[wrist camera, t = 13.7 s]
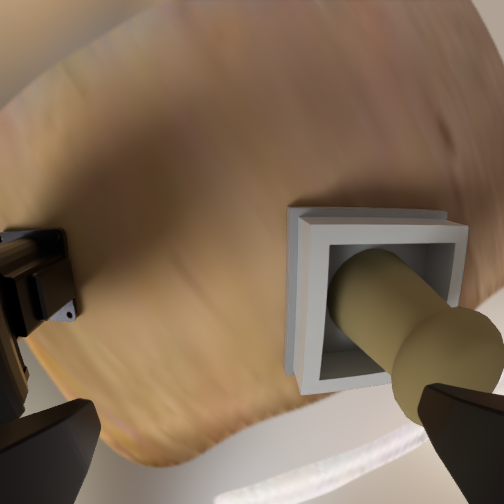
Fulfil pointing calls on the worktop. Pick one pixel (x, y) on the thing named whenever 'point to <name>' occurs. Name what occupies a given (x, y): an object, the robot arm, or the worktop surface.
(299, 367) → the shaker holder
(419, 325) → the cork
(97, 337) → the worktop surface
